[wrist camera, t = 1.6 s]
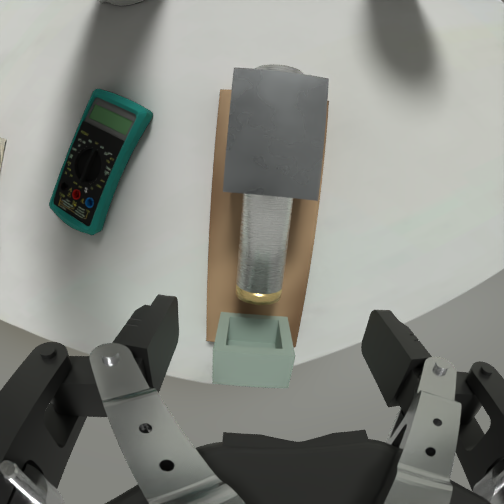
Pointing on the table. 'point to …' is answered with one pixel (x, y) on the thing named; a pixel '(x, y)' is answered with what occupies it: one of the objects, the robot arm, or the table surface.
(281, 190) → the sleeve
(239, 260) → the tube
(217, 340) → the socket
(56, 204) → the digital multimeter
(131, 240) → the table surface
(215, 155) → the board
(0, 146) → the condiment
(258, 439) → the robot arm
